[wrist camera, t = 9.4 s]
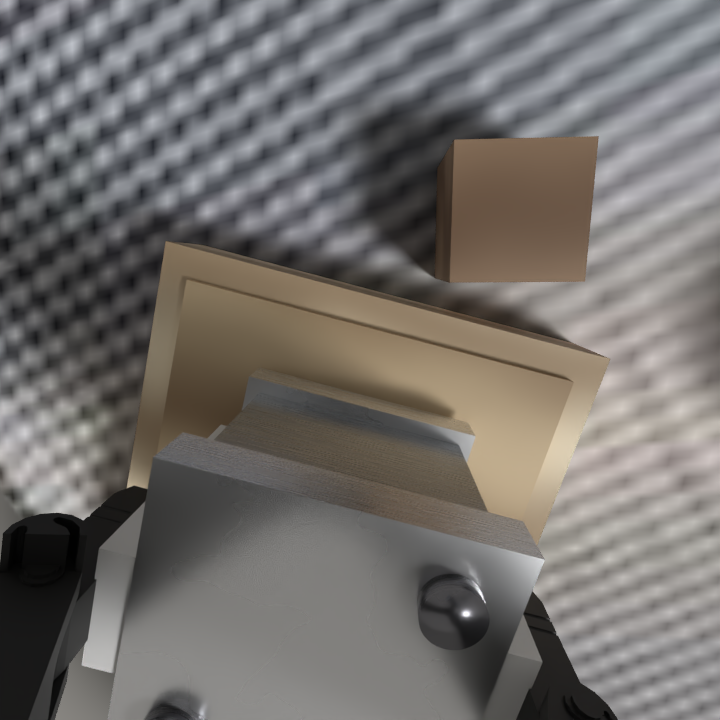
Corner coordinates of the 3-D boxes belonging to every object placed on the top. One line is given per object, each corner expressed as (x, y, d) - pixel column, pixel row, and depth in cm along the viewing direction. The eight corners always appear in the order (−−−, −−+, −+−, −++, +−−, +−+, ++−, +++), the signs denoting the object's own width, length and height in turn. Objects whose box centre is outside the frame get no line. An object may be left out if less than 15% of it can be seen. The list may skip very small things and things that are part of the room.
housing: (219, 552, 16) (87, 787, 9) (259, 367, 15) (141, 467, 7) (408, 601, 16) (431, 874, 9) (467, 422, 15) (553, 575, 7)
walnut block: (436, 168, 17) (454, 139, 13) (547, 166, 17) (598, 136, 13) (434, 278, 18) (449, 282, 14) (538, 277, 17) (584, 281, 13)
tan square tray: (201, 244, 18) (161, 240, 14) (572, 343, 18) (614, 360, 14) (151, 532, 20) (108, 582, 17) (471, 615, 21) (488, 680, 17)
